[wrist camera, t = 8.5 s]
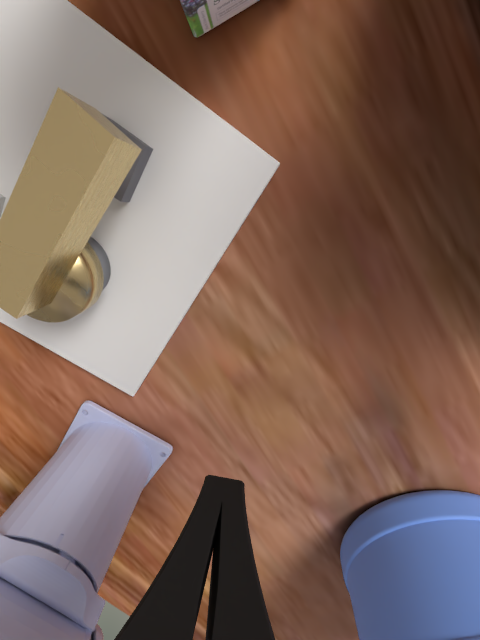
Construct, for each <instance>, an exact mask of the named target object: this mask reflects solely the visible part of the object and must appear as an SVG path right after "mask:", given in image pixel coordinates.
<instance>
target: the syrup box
mask: <svg viewBox="0 0 480 640" xmlns="http://www.w3.org/2000/svg"><path fill="white" fill-rule="evenodd" d="M257 1H259V0H180V3H181V5H182V8H183V10H184V13H185V15H186V18H187V20H188V23H189V25H190V28H191V31H192V33H193V36H194V37H199V36H201V35H203V34H204V33H206V32H208V31H210V30H211V29H213V28H215V27H216V26H218V25H220V24H221V23H223V22H225V21H226V20H228V19H229V18H231V17H233V16H234V15H236V14H238V13H239V12H241V11H243V10H245V9H246V8H248V7H249V6H251V5H253V4H254V3H256V2H257Z"/></svg>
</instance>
